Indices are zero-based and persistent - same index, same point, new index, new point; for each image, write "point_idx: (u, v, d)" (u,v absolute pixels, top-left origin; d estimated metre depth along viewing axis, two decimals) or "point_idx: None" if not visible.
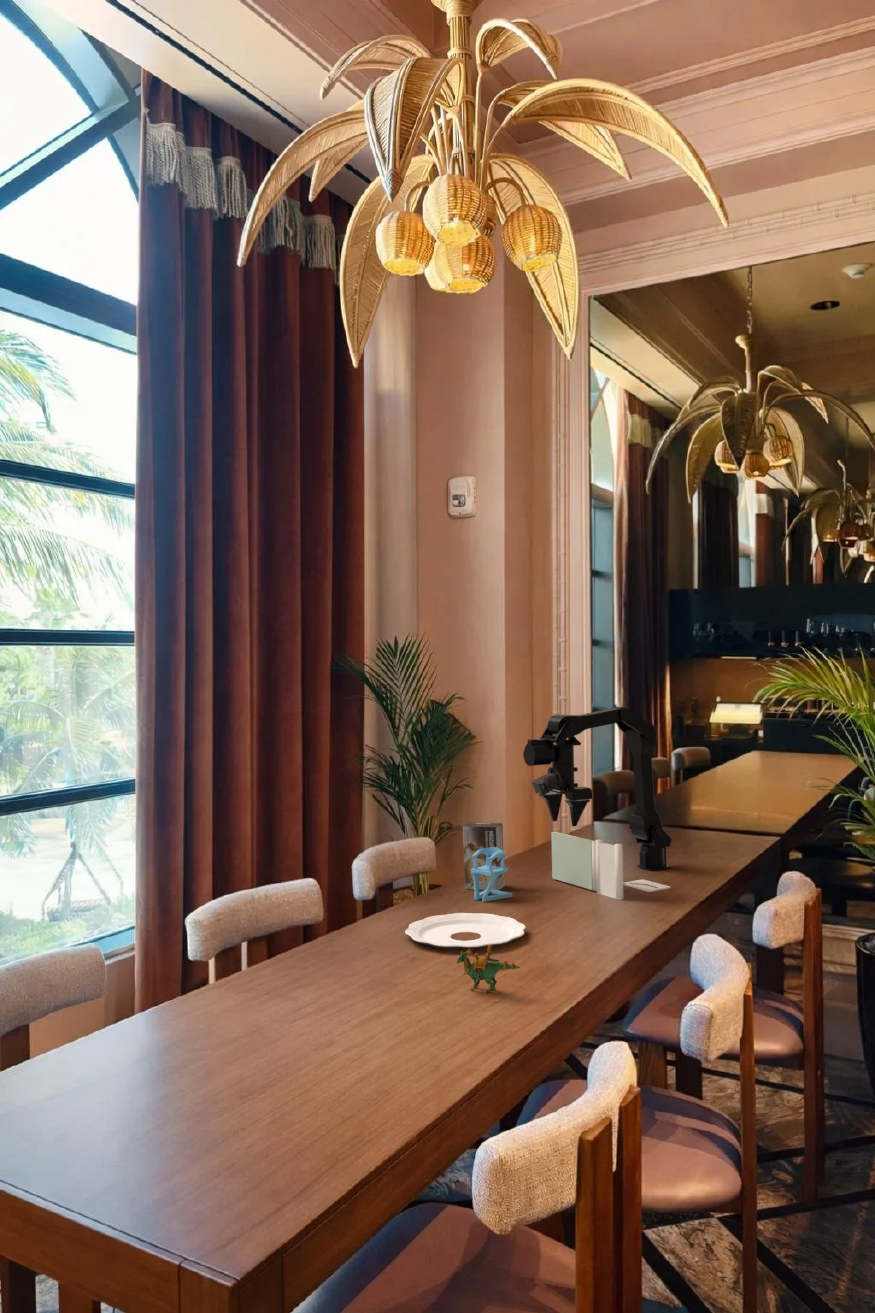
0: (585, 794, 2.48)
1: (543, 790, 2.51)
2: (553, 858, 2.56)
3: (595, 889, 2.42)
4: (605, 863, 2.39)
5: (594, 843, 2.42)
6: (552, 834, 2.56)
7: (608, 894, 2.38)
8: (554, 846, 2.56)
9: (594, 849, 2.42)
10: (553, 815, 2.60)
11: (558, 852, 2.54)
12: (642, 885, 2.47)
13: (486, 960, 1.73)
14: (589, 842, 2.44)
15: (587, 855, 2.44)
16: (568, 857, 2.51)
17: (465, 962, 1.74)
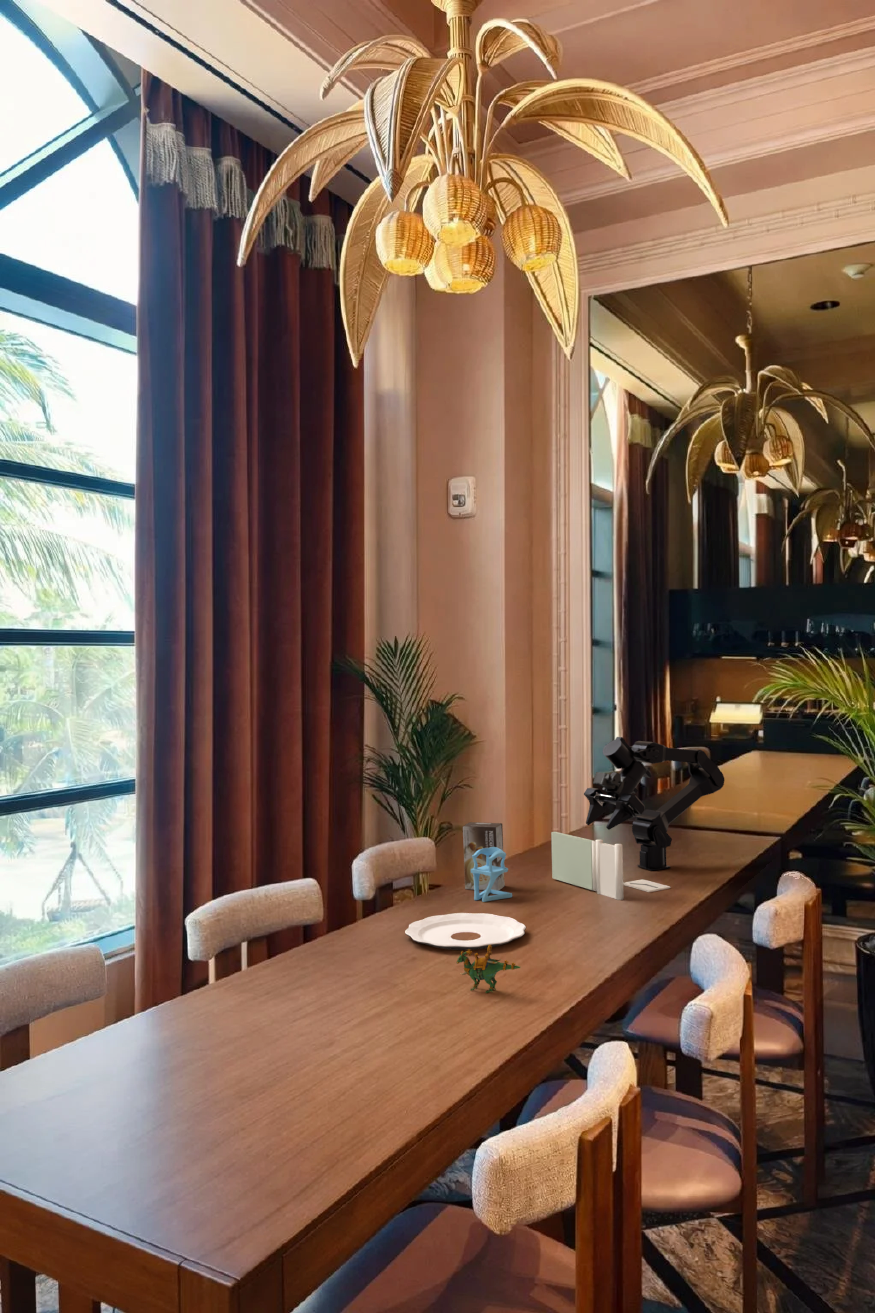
0: (639, 805, 2.54)
1: (605, 781, 2.57)
2: (553, 858, 2.56)
3: (595, 889, 2.42)
4: (605, 863, 2.39)
5: (594, 843, 2.42)
6: (552, 834, 2.56)
7: (608, 894, 2.38)
8: (554, 846, 2.56)
9: (594, 849, 2.42)
10: (589, 818, 2.62)
11: (558, 852, 2.54)
12: (642, 885, 2.47)
13: (486, 960, 1.73)
14: (589, 842, 2.44)
15: (587, 855, 2.44)
16: (568, 857, 2.51)
17: (465, 962, 1.74)
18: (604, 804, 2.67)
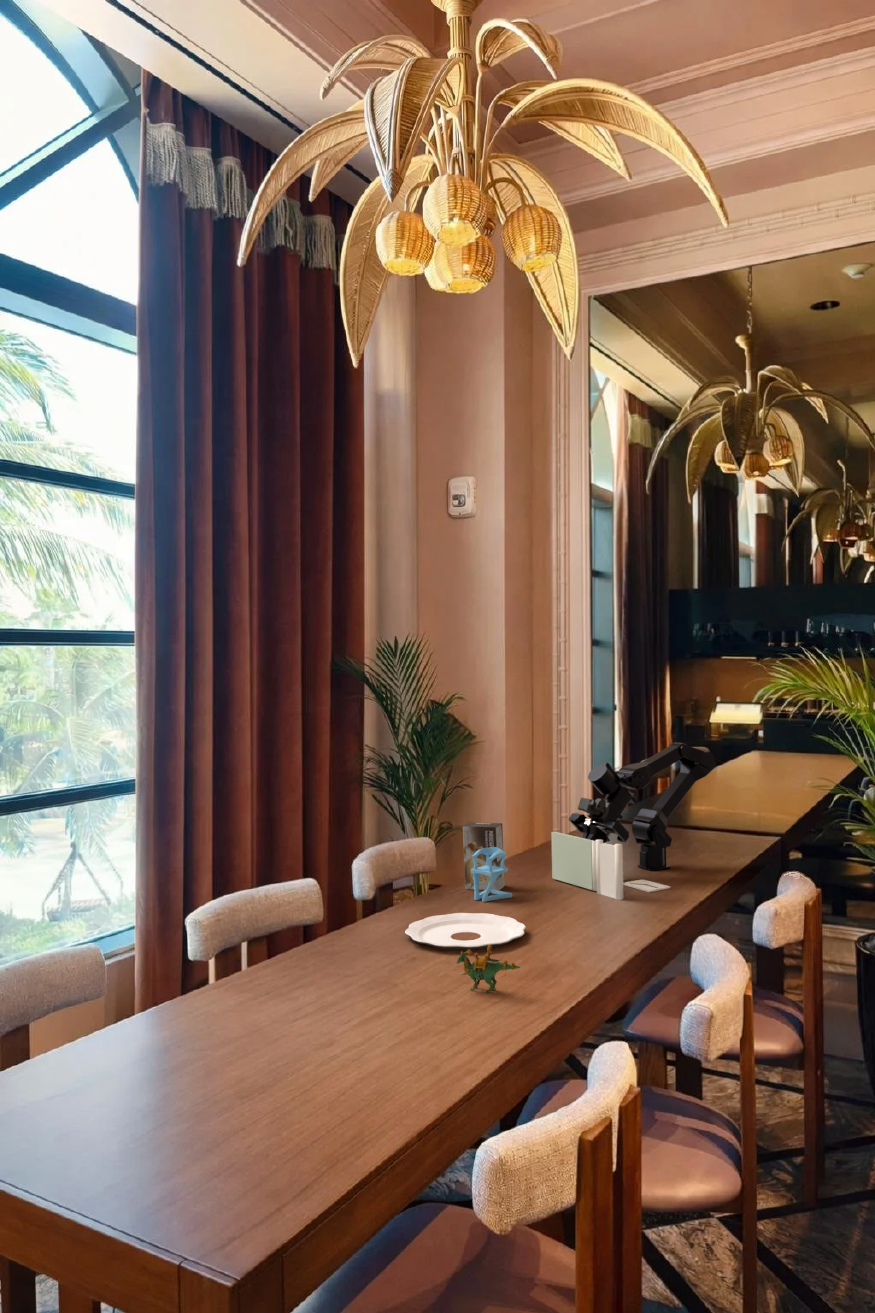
0: (623, 832, 2.51)
1: (589, 807, 2.54)
2: (553, 858, 2.56)
3: (595, 889, 2.42)
4: (605, 863, 2.39)
5: (594, 843, 2.42)
6: (552, 834, 2.56)
7: (608, 894, 2.38)
8: (554, 846, 2.56)
9: (594, 849, 2.42)
10: None
11: (558, 852, 2.54)
12: (642, 885, 2.47)
13: (486, 960, 1.73)
14: (589, 842, 2.44)
15: (587, 855, 2.44)
16: (568, 857, 2.51)
17: (465, 962, 1.74)
18: None
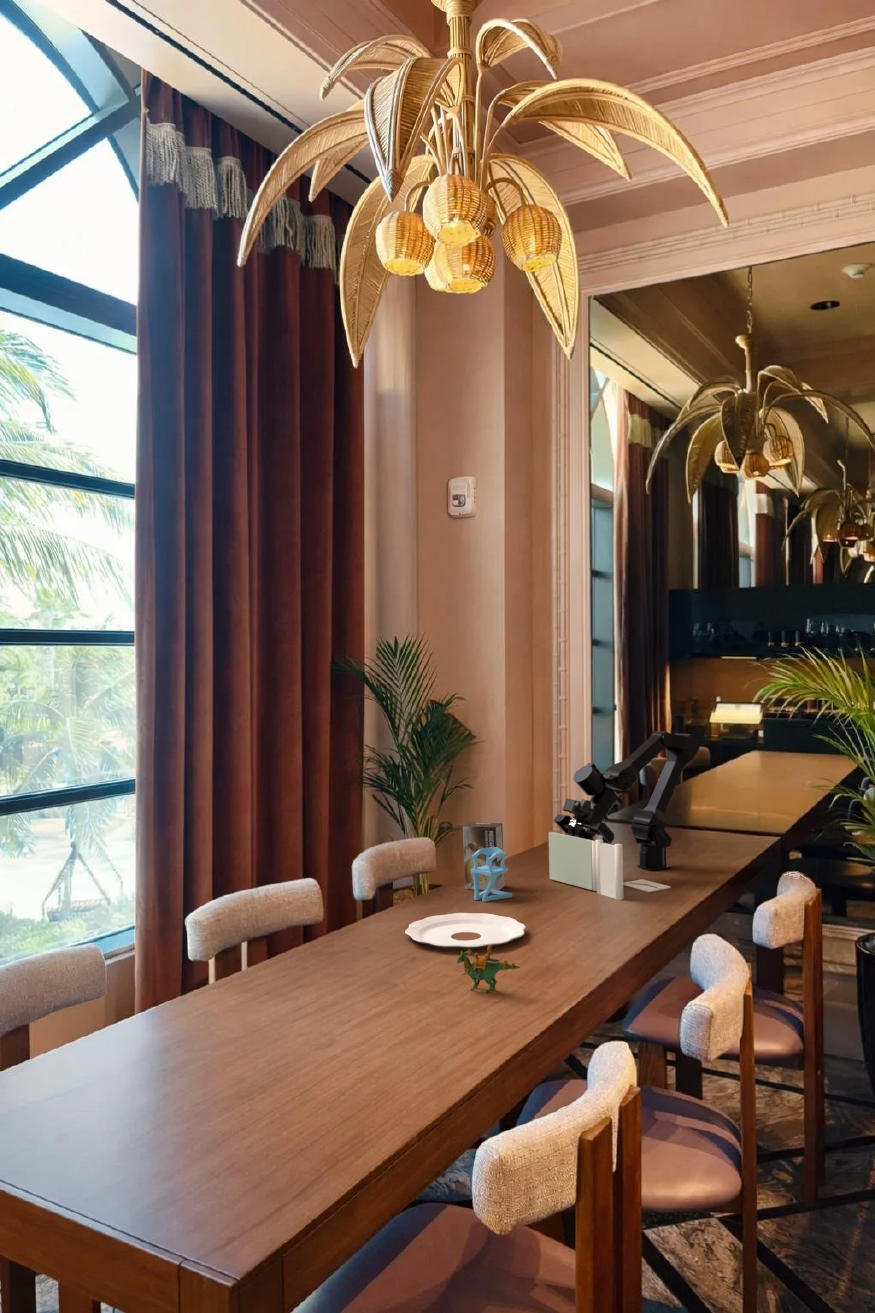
0: (608, 834, 2.48)
1: (574, 808, 2.52)
2: (550, 858, 2.56)
3: (595, 889, 2.42)
4: (605, 863, 2.39)
5: (594, 843, 2.42)
6: (549, 834, 2.56)
7: (608, 894, 2.38)
8: (551, 846, 2.55)
9: (594, 849, 2.42)
10: None
11: (556, 852, 2.54)
12: (642, 885, 2.47)
13: (486, 960, 1.73)
14: (589, 842, 2.44)
15: (587, 855, 2.44)
16: (566, 858, 2.51)
17: (465, 962, 1.74)
18: None
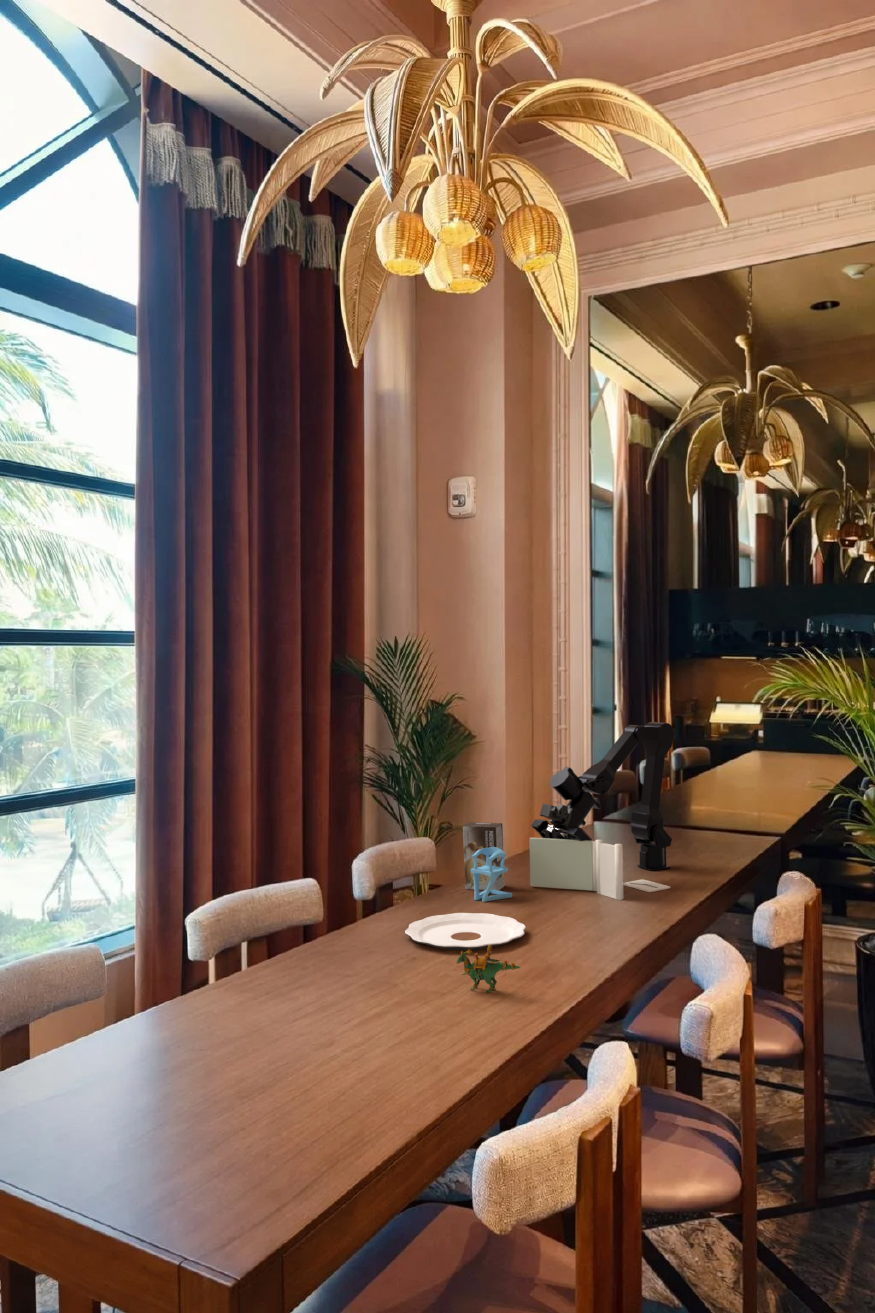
0: (586, 839, 2.44)
1: (551, 813, 2.48)
2: (532, 864, 2.49)
3: (596, 889, 2.43)
4: (605, 863, 2.39)
5: (595, 843, 2.43)
6: (531, 840, 2.49)
7: (608, 894, 2.38)
8: (534, 852, 2.48)
9: (595, 849, 2.43)
10: None
11: (540, 858, 2.48)
12: (642, 885, 2.47)
13: (486, 960, 1.73)
14: (589, 843, 2.43)
15: (586, 856, 2.43)
16: (556, 862, 2.46)
17: (465, 962, 1.74)
18: None
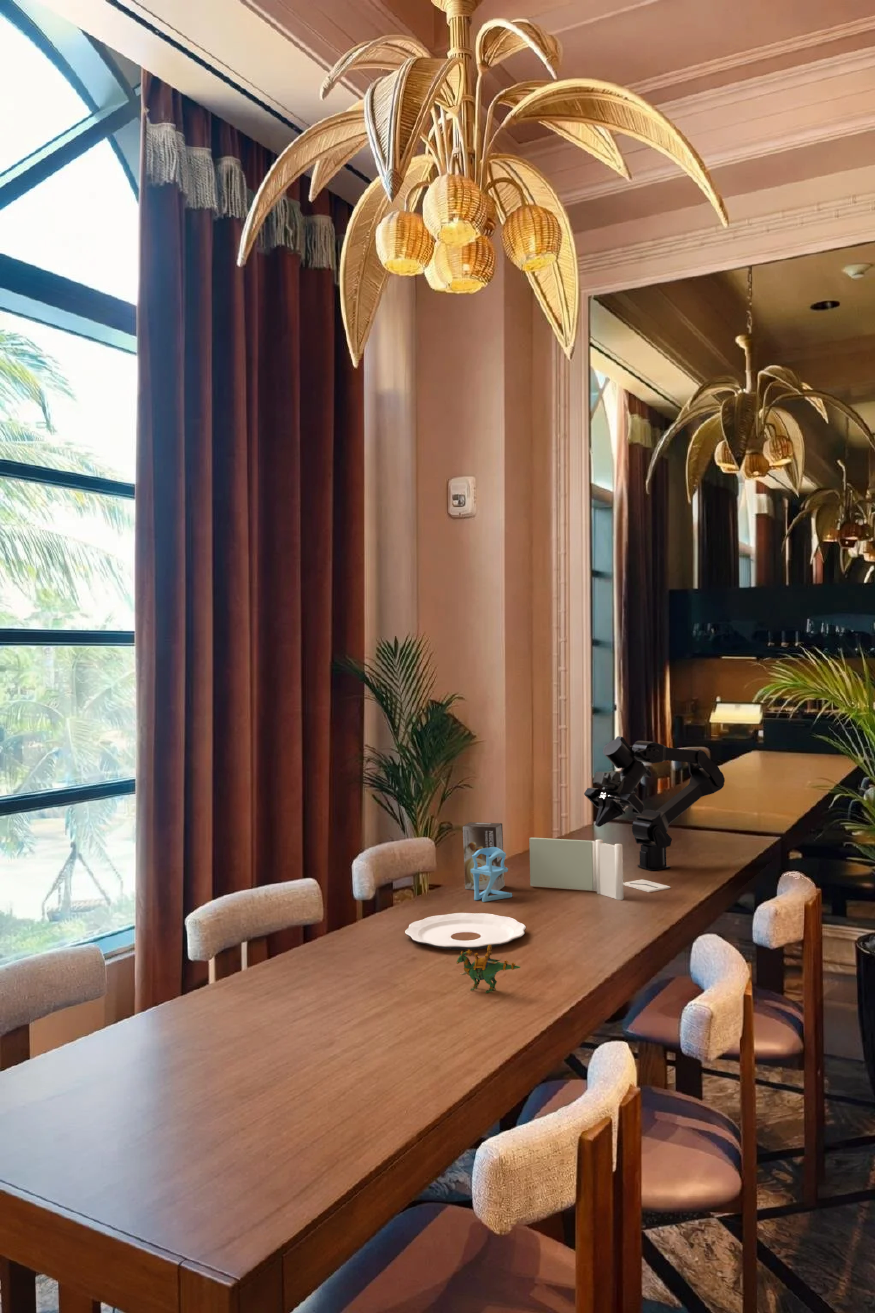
0: (638, 804, 2.53)
1: (604, 780, 2.57)
2: (532, 864, 2.49)
3: (596, 889, 2.43)
4: (605, 863, 2.39)
5: (595, 843, 2.43)
6: (531, 840, 2.49)
7: (608, 894, 2.38)
8: (534, 852, 2.48)
9: (595, 849, 2.43)
10: None
11: (540, 858, 2.48)
12: (642, 885, 2.47)
13: (486, 960, 1.73)
14: (589, 843, 2.43)
15: (586, 856, 2.43)
16: (556, 862, 2.46)
17: (465, 962, 1.74)
18: None
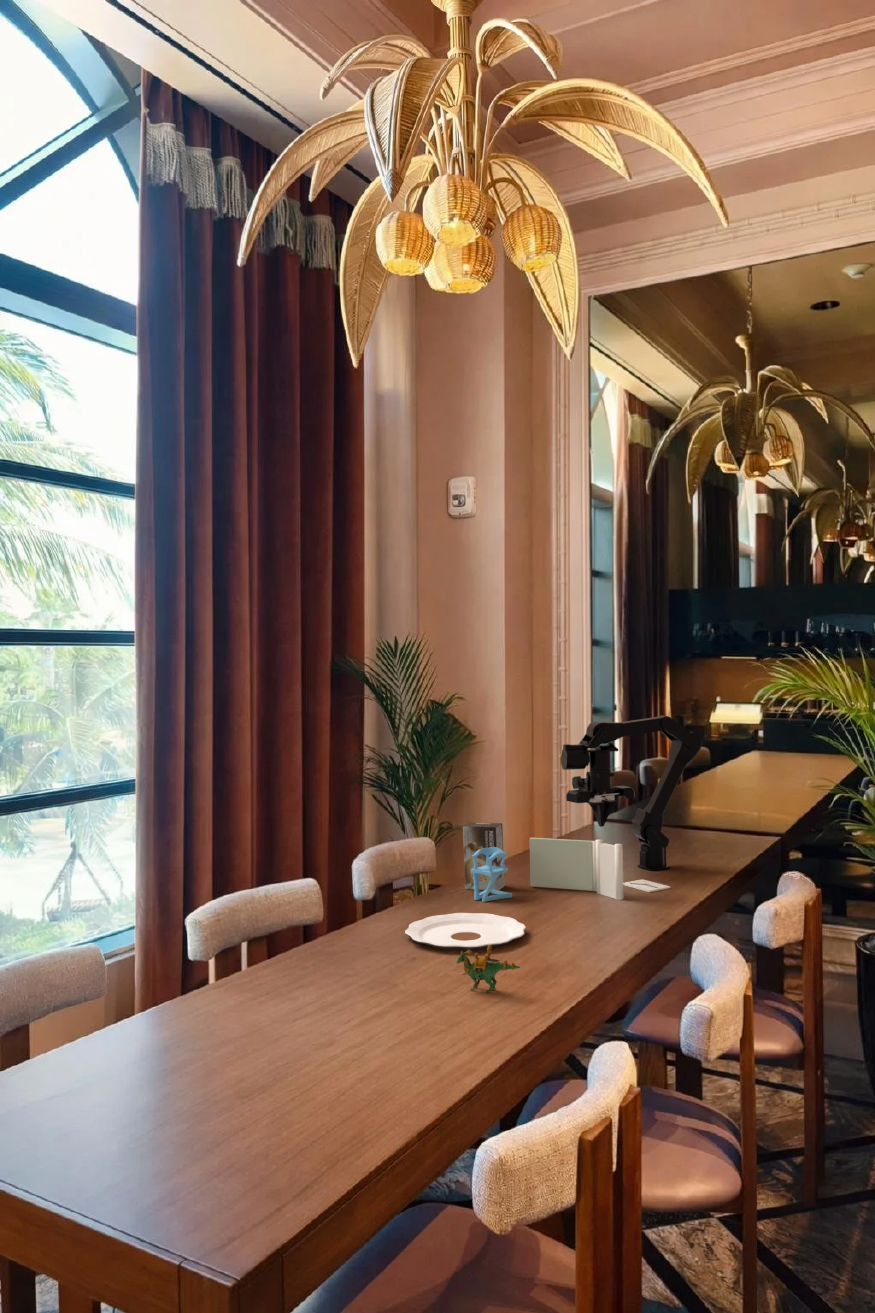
0: (572, 797, 2.61)
1: (578, 788, 2.71)
2: (532, 864, 2.49)
3: (596, 889, 2.43)
4: (605, 863, 2.39)
5: (595, 843, 2.43)
6: (531, 840, 2.49)
7: (608, 894, 2.38)
8: (534, 852, 2.48)
9: (595, 849, 2.43)
10: None
11: (540, 858, 2.48)
12: (642, 885, 2.47)
13: (486, 960, 1.73)
14: (589, 843, 2.43)
15: (586, 856, 2.43)
16: (556, 862, 2.46)
17: (465, 962, 1.74)
18: None
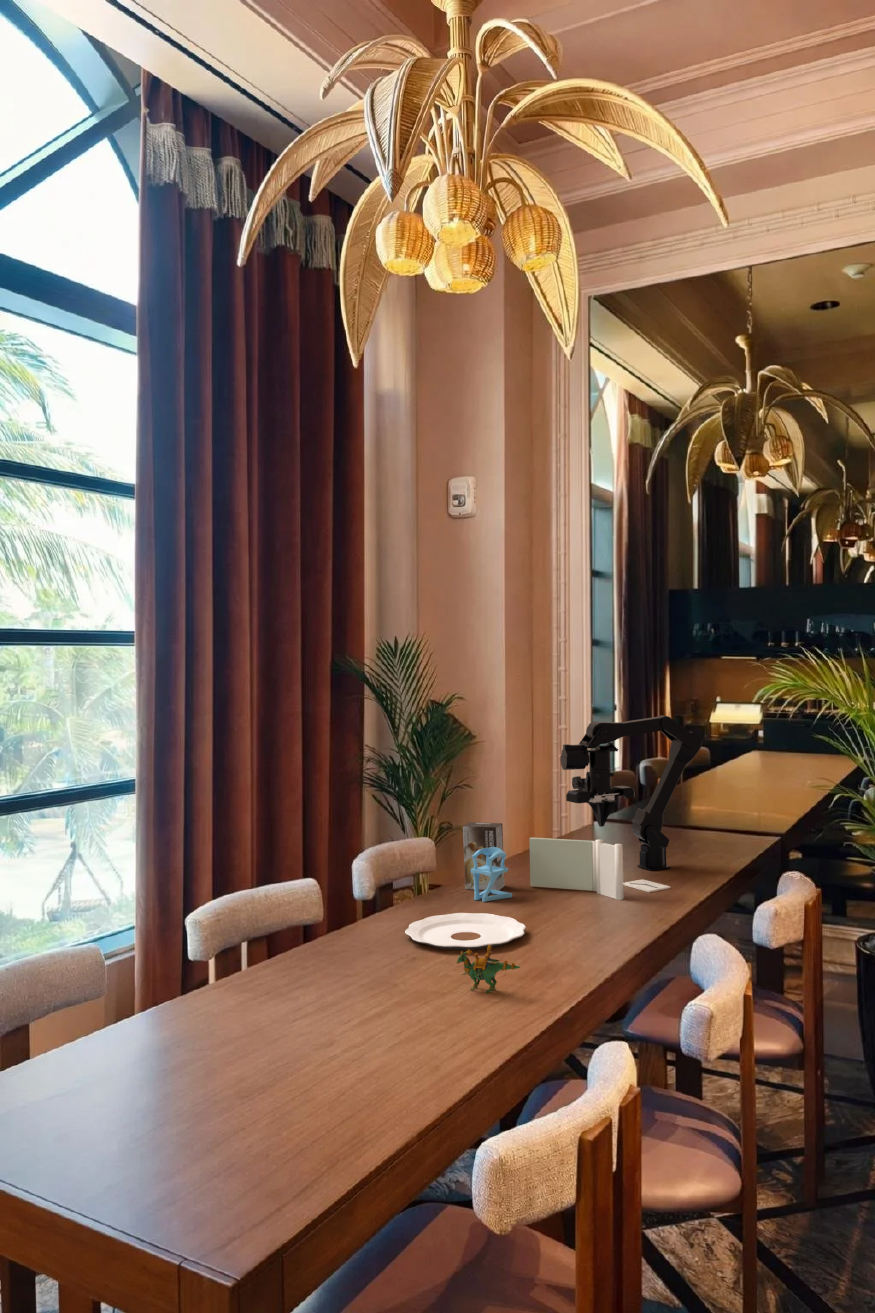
0: (572, 797, 2.61)
1: (578, 788, 2.71)
2: (532, 864, 2.49)
3: (596, 889, 2.43)
4: (605, 863, 2.39)
5: (595, 843, 2.43)
6: (531, 840, 2.49)
7: (608, 894, 2.38)
8: (534, 852, 2.48)
9: (595, 849, 2.43)
10: None
11: (540, 858, 2.48)
12: (642, 885, 2.47)
13: (486, 960, 1.73)
14: (589, 843, 2.43)
15: (586, 856, 2.43)
16: (556, 862, 2.46)
17: (465, 962, 1.74)
18: None
